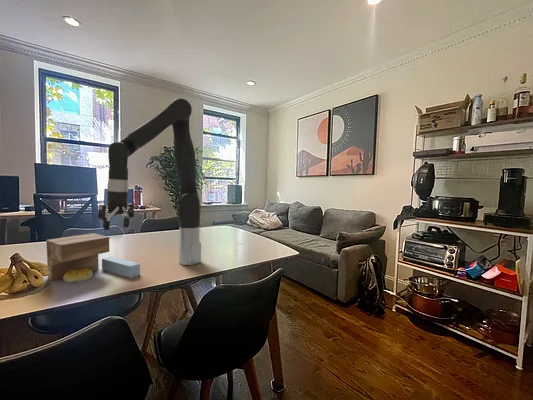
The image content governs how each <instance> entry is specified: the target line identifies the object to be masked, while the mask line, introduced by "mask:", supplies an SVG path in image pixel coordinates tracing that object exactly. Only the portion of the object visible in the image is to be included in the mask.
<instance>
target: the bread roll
mask: <svg viewBox="0 0 533 400" xmlns="http://www.w3.org/2000/svg"><path fill="white" fill-rule="evenodd" d="M93 272H94V270H92V271H91V270H90V269H88V268H82V269H80V270H77V269H73V270H70V271H68V272H67V273H65V275H64V276H63V278H62V279H63V281H64V282H66V283H69V284H70V283H71V284H72V283H76V282H77V283H80V282H85V281H88V280H90V279H91V278H92V277H93V275H94V273H93Z"/></svg>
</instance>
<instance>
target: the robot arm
mask: <svg viewBox="0 0 533 400" xmlns="http://www.w3.org/2000/svg"><path fill="white" fill-rule="evenodd" d="M192 110H193V109H192V105H191V102H189V101H188V100H187V99H184V98H181V97H180V98H176V99H174V100H173V101H172V102H171V103H169V105H168V106H167V107H166V108H165V109H163V110H162V111H161V112H159V113H158V114H157V115H155V116H154V117H153V118H151V119H149V120H148V121H146V122H145V123H143V124H141V125H140V126H139V127H137V128H135V129H134V130H132V131H131V132H130V133H129V134H127V136H126V137H125V138H123V139H122V140H120V141H114V142H111V143H110V144H109V146H108V156H107V157H108V165H109V167H108V181H107V190H106V192H107V195H106V197H107V198H106V201H107V204H99V205H98V206H99V207H98V213H97V214H98V215H97V217H98V218H97V219H98V220H101V221H103V222H102V228H103V229H104V231H109V230H110V223H111V221H110V220H111V218H113V217H114V216H116V215H121V216H122V217H123V225H122V226H123V228H127V229H128V228H129V226H130V219H131V218H134V216H135V204H134V203H128V201H129V181H128V180H129V168H128V160H129V157H131V156H132V155H134V153H136V152H137V151H138V150H139V149H141V148H142V147H144V146H146V145H147V144H149V143H150V142H151V141H153V140H154V139H156V137H158V136H159V135H160V134H161V133H162V132H164V131H165V130H166V129H167V128H168V127H170V126H172V131H173V155H174V163H175V169H176V174H177V177H178V180H179V185H180V186H179V189H180V190H179V192H180V198H179V201H178V223H179V224H178V226H179V228H178V231H179V233H178V236H179V239H178V241H179V243H178V245H179V247H178V252H179V253H178V256H179V257H178V258H179V260H178V261H179V262H178V263H179V264H180V265H182V266H193V265H197V264H200V263H201V262H202V242H200V241H201V240H200V238H201V237H200V235H201V234H200V232H201V230H200V229H201V226H200V224H201V218H200V217H201V216H200V215H201V202H200V197H199V192H198V189H197V183H196V182H197V180H196V179H197V178H196V177H197V176H196V175H197V162H196V161H197V160H196V154H195V153H196V151H195V147H194V144H193V140H192V138H191V133H190V117H191V115H192Z"/></svg>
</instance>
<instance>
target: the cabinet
mask: <svg viewBox="0 0 533 400" xmlns="http://www.w3.org/2000/svg"><path fill="white" fill-rule="evenodd" d="M45 242H46V260H47V261H46V262H47V266H46V267H47V272H48V271H49V274H48V273H47V279H48V280H49V281H50V282H51V281H52V282H54V281H58V280H61V279H64V278H63V276H64V275H65V273H67V272H68V271H70V270H73V269H77V270H80V269H82V268H88V269H90V270H91V271H95V269H96V270H99V267H100V263H99V255H100V254H105V253H109V252H110V236H105V235H103V234H98V233H95V232H92V233H91V232H90V233H86V234H85V233H84V234H79V235H78V234H77V235H70V236H65V237H59V238H58V237H57V238H51V239H50V238H49V239H46V240H45Z"/></svg>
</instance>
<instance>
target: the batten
mask: <svg viewBox="0 0 533 400" xmlns="http://www.w3.org/2000/svg"><path fill="white" fill-rule="evenodd" d="M101 270H103V271H104V272H108V271H109V272H108V273H112V274H115V273H116V275H118V274H119V276H122V277H125V276H126V277H125V278H128V277H129V279H133V278H135V276H136V277H138V275H139V276H141V263H139V262H134V261H130V260H127V259H122V258H119V257H115V256H108V257H104V258H101ZM132 277H133V278H132Z"/></svg>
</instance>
